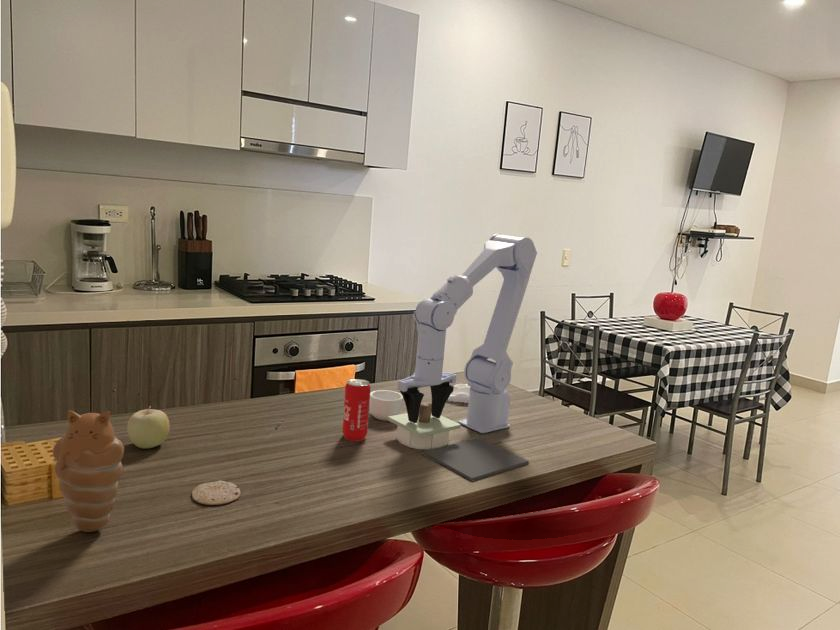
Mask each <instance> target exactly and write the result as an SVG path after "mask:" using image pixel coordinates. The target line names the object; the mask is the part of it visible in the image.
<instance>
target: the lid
mask: <svg viewBox="0 0 840 630" xmlns="http://www.w3.org/2000/svg"><path fill="white" fill-rule="evenodd" d="M431 409H432V403H429V402H421V404H420V408H419V416H418V421H417V423H413V422H411V421H409V420H408V413H407V412H404V413H400V414H399V415H393V416H388V422H391V424H394V425H396V426H397V425H398V426H400V427H402V428H404V429H406V430H408V431H409V432H411V433H413V434H415V435H417V436H419V437H425V436H429V435H433V434H438V433H442V432H446V431H449V432H450V431H455V430H458V429H461V428H462V424H460V423H459V422H456V421H454V420H452V419H450V418H447V417H445V416H443V415H441V416H440V418H436V417H434V416H432V414H431Z"/></svg>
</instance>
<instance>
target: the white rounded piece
mask: <svg viewBox="0 0 840 630" xmlns="http://www.w3.org/2000/svg"><path fill="white" fill-rule="evenodd" d="M452 386H453V387H454V390H453V392H452V393H451V395H450V396H449V398H448V399H447V402H451V401H453V403H462V402H464V403H463V404H468V403H469V393H470V386H468V383H457V384H456V383H455V384H453V385H452Z"/></svg>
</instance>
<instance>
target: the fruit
mask: <svg viewBox="0 0 840 630" xmlns="http://www.w3.org/2000/svg"><path fill="white" fill-rule="evenodd" d="M170 427H171V426H170V420H169V417H168V415H167V414H166V413H165V412H164V411H162V410H160V409H154V408H153V409H152V406H151V405H149V407H148V408H145V409H141V410H138V411H137V412H134V413H133V414H132V415H131V417H129V419H128V421H127V427H126V430H127V434H128V437H129V439H130V441H131V442H132V443H133V444H134V445H135V446H136V447H137V448H140V449H144V450H145V449H152V448H155V447H158V446H159V445H162V443H164V441H166V439H167V437H168V435H169V432H170Z"/></svg>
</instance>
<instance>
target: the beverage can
mask: <svg viewBox="0 0 840 630" xmlns="http://www.w3.org/2000/svg"><path fill="white" fill-rule="evenodd" d="M344 388H345V389H344V401H343V402H344V403H343V404H344V405H343V420H342V434H343V437H344V439H345V440H347V441H351V442H360V441H364V440H365V439H366V437H367V434H368V429H369V428H368V427H369V426H368V425H369V414H370V413H369V412H370V404H369V402H370V393H371V384H370V381H368V380H367V379H359V378H355V379H354V378H353V379H352V378H351V379H348V380H347V381H346V385H345V387H344Z"/></svg>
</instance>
